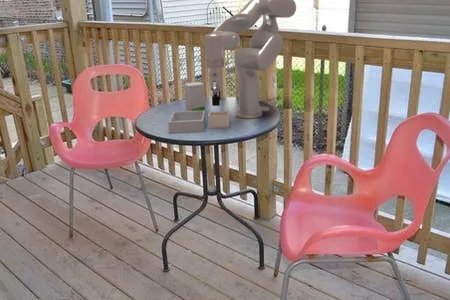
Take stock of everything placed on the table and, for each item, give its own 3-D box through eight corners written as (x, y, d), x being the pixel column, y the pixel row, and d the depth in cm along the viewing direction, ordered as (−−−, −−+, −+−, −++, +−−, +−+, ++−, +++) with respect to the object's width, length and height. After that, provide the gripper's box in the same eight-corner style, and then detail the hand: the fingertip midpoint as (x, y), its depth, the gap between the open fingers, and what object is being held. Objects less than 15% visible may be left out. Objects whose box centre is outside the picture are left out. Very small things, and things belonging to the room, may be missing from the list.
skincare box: (191, 117, 207) (188, 86, 201) (185, 114, 212) (183, 83, 207) (206, 114, 210) (204, 83, 204) (201, 111, 216) (198, 81, 210)
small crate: (229, 123, 195) (228, 111, 192) (229, 128, 189) (228, 115, 187) (209, 124, 195) (208, 112, 193) (208, 129, 189) (208, 116, 187)
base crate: (206, 120, 201) (205, 110, 199) (203, 131, 186) (202, 120, 184) (174, 122, 201) (173, 112, 199) (169, 133, 186) (168, 122, 184)
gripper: (223, 66, 173) (224, 107, 179) (224, 60, 190) (225, 98, 196) (204, 66, 174) (206, 108, 180) (207, 60, 190) (209, 98, 196)
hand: (216, 102), depth 188 cm, fingers open, 9 cm apart
